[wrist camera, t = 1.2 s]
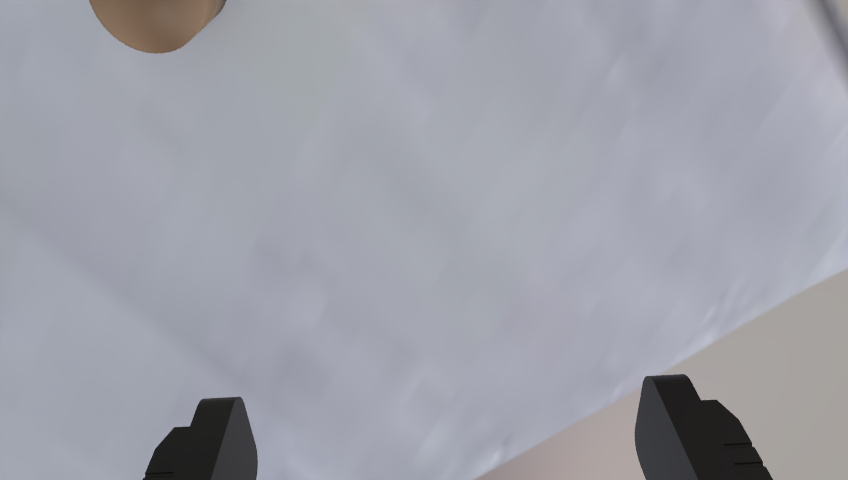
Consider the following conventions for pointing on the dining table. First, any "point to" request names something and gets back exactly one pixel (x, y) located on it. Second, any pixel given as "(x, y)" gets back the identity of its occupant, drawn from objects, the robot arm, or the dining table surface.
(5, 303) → the dining table surface
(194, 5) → the walnut cylinder
